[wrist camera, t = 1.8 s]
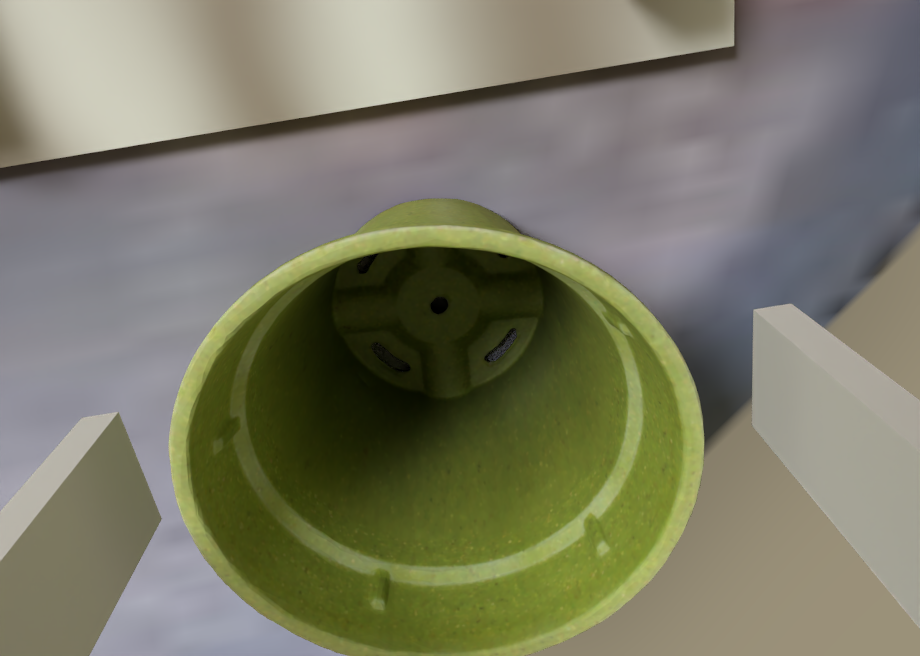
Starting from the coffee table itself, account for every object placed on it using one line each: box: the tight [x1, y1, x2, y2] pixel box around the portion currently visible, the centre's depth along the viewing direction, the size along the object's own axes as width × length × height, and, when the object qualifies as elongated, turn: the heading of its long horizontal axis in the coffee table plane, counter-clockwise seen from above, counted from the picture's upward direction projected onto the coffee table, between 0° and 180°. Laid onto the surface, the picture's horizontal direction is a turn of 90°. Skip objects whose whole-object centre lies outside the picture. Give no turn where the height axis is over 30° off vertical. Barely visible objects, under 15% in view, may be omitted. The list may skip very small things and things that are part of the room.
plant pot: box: [169, 199, 704, 656], centre depth 16 cm, size 9×9×9 cm
